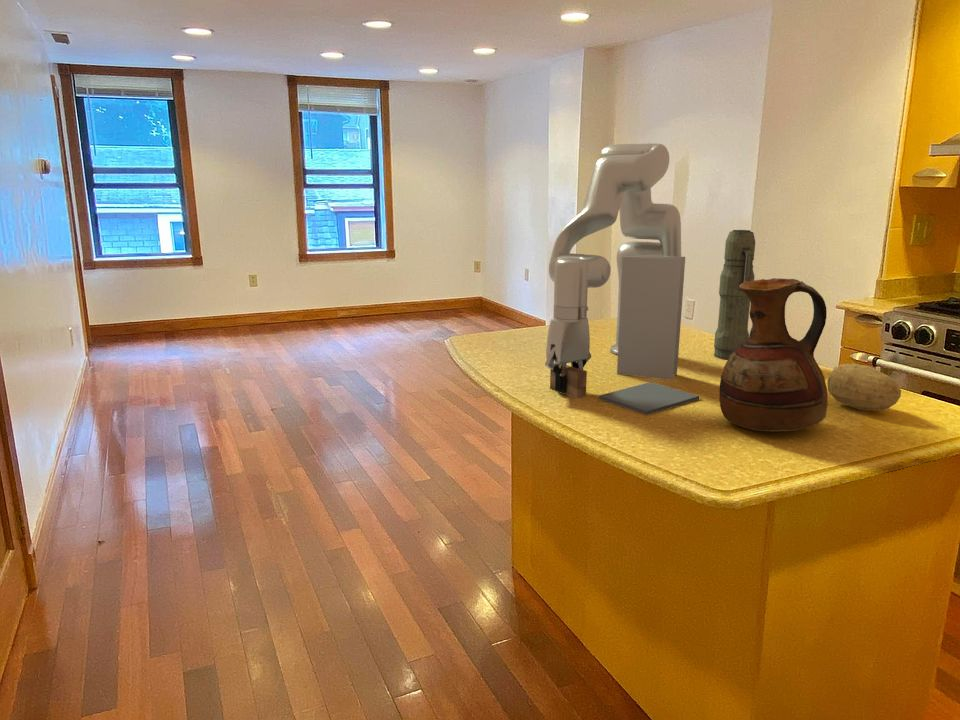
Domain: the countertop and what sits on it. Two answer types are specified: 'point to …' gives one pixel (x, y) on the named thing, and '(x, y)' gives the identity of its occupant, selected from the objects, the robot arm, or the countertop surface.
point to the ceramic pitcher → (775, 364)
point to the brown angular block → (572, 381)
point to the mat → (648, 398)
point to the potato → (863, 387)
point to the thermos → (734, 293)
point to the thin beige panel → (650, 315)
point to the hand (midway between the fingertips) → (567, 388)
